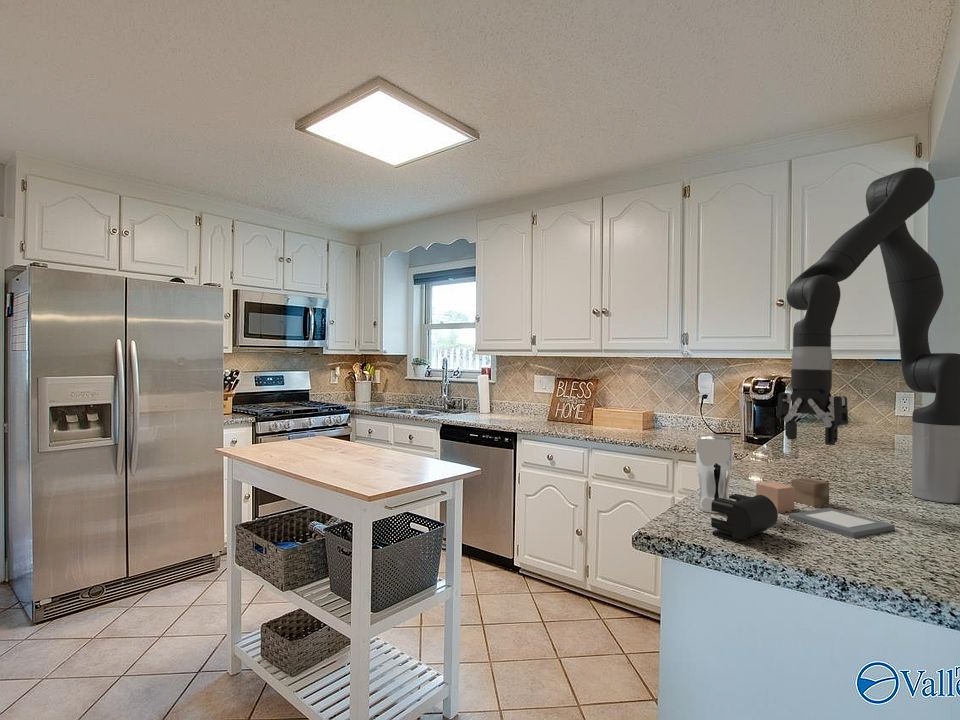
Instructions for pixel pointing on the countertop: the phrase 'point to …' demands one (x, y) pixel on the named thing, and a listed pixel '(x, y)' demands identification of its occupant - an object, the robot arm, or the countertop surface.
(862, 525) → the plate
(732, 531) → the end cap
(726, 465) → the beer glass
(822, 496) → the walnut block
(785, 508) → the terracotta block
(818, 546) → the countertop surface
